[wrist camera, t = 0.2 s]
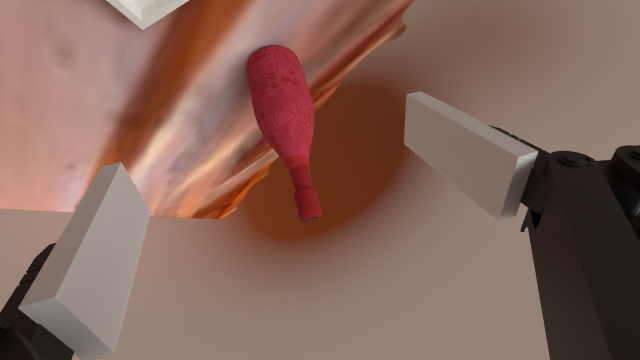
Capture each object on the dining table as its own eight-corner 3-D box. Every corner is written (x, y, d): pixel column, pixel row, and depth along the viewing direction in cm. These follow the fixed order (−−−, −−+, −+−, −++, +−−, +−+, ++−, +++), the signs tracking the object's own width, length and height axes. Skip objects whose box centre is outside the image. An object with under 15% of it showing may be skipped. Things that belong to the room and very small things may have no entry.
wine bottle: (275, 89, 60) (310, 232, 49) (233, 69, 53) (263, 231, 42) (310, 58, 55) (357, 209, 44) (268, 30, 48) (313, 204, 36)
